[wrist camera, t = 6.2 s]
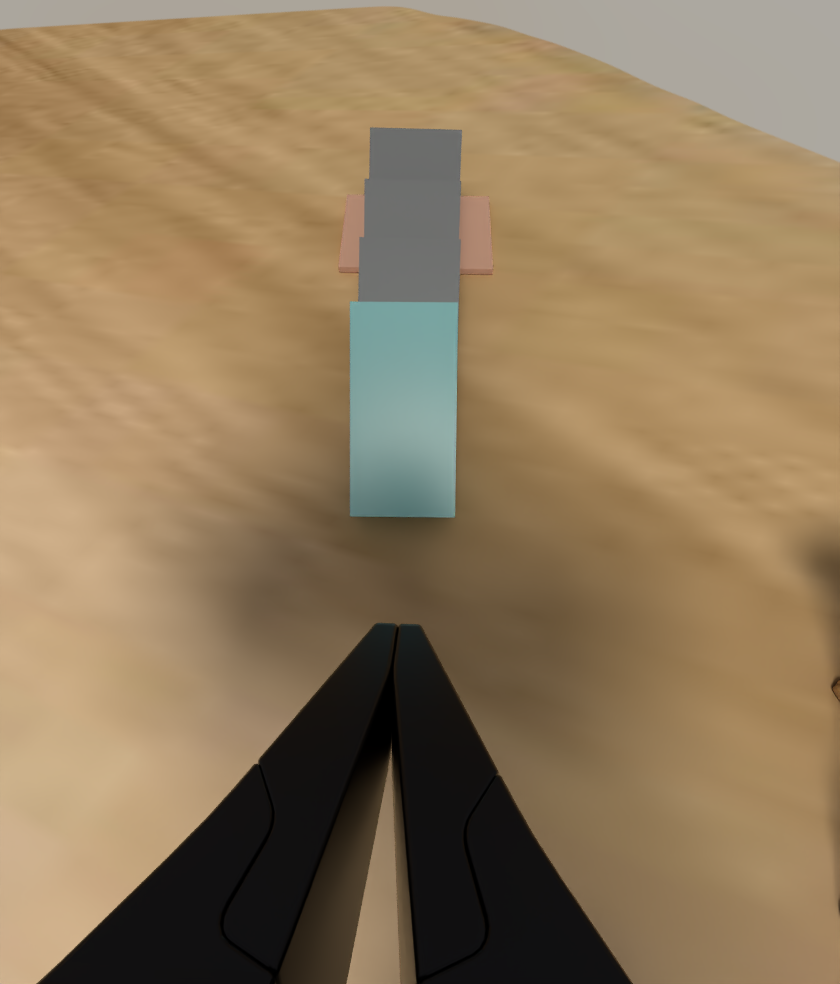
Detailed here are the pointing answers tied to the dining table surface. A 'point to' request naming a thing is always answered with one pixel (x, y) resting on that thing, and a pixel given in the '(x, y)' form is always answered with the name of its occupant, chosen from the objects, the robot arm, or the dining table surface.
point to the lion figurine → (837, 689)
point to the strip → (470, 232)
